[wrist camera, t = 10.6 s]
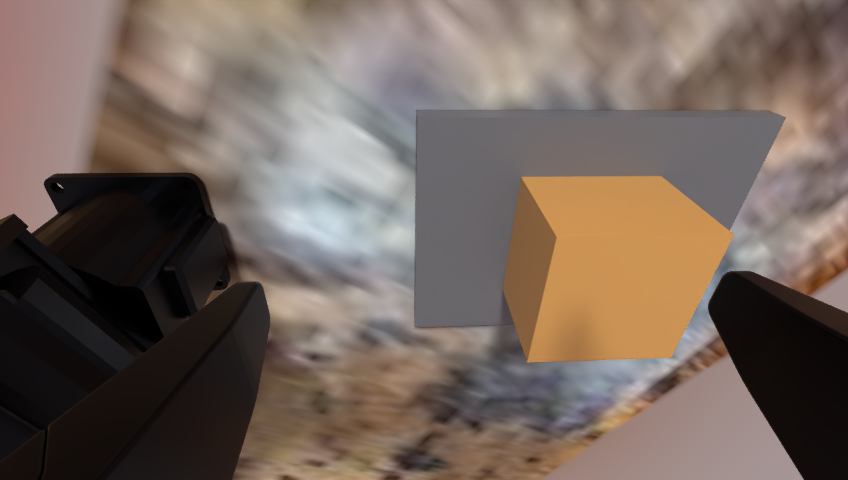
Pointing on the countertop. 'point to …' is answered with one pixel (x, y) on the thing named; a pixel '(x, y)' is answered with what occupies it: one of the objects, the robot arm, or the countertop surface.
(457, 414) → the countertop surface
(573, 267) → the tan wooden cube
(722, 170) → the post board
